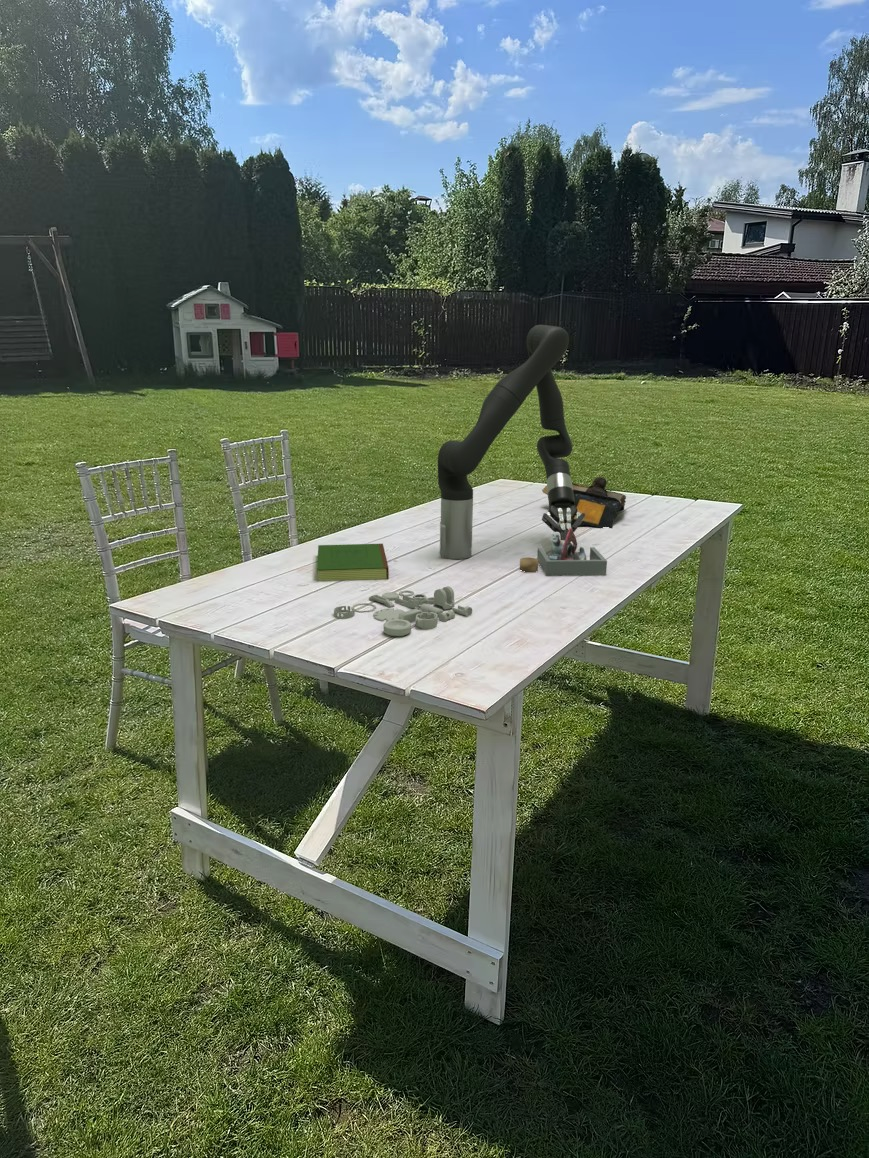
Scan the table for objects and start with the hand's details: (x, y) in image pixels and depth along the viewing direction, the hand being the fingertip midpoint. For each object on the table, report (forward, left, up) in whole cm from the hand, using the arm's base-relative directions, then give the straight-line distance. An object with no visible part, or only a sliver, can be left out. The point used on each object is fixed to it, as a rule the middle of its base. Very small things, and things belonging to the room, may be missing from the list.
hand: (566, 543), depth 223 cm
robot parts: (-48, -41, -6) cm, 64 cm away
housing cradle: (0, -6, -5) cm, 8 cm away
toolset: (+18, +58, -6) cm, 61 cm away
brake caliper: (-1, -5, -5) cm, 7 cm away
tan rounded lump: (-12, -8, -5) cm, 16 cm away
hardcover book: (-61, -3, -6) cm, 61 cm away
